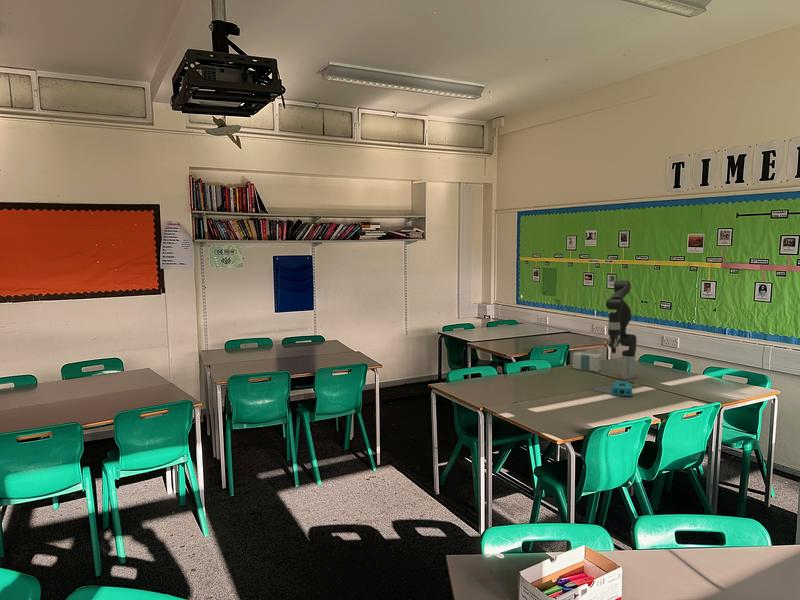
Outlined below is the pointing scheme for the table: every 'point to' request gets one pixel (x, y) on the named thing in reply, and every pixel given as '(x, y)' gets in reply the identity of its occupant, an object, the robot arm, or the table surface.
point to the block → (622, 388)
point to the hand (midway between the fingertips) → (613, 353)
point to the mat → (604, 390)
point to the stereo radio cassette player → (587, 361)
